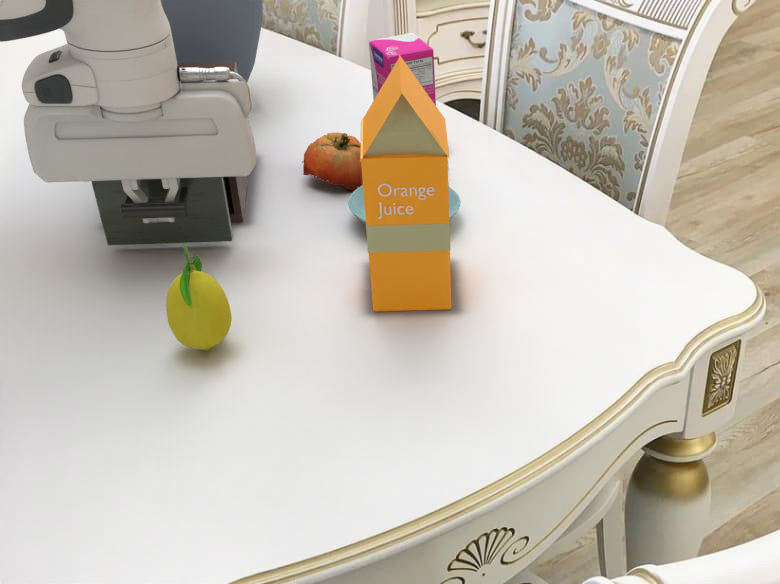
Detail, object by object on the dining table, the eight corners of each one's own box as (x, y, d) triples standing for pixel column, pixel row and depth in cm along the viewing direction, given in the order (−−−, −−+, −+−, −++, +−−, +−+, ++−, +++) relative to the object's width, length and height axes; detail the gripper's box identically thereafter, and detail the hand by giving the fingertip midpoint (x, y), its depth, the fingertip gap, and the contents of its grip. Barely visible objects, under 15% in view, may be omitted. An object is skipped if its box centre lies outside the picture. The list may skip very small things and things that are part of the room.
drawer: (229, 265, 109) (213, 176, 103) (100, 269, 108) (76, 180, 102) (240, 179, 123) (227, 96, 116) (126, 182, 122) (106, 99, 115)
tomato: (329, 189, 120) (307, 122, 119) (304, 214, 125) (282, 150, 125) (391, 181, 124) (370, 117, 123) (363, 206, 130) (343, 144, 129)
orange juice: (371, 311, 106) (353, 92, 91) (371, 266, 112) (355, 53, 97) (453, 309, 106) (448, 91, 92) (449, 264, 112) (444, 52, 98)
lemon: (206, 378, 97) (184, 272, 90) (157, 358, 99) (131, 253, 92) (256, 343, 101) (239, 240, 94) (208, 325, 103) (187, 222, 96)
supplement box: (374, 142, 132) (367, 38, 124) (419, 133, 134) (415, 31, 126) (393, 161, 129) (387, 55, 120) (439, 151, 131) (436, 47, 122)
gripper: (247, 53, 101) (269, 201, 111) (15, 59, 99) (58, 209, 109) (244, 79, 96) (267, 231, 107) (1, 85, 95) (47, 239, 105)
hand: (160, 220), depth 108 cm, fingers closed
